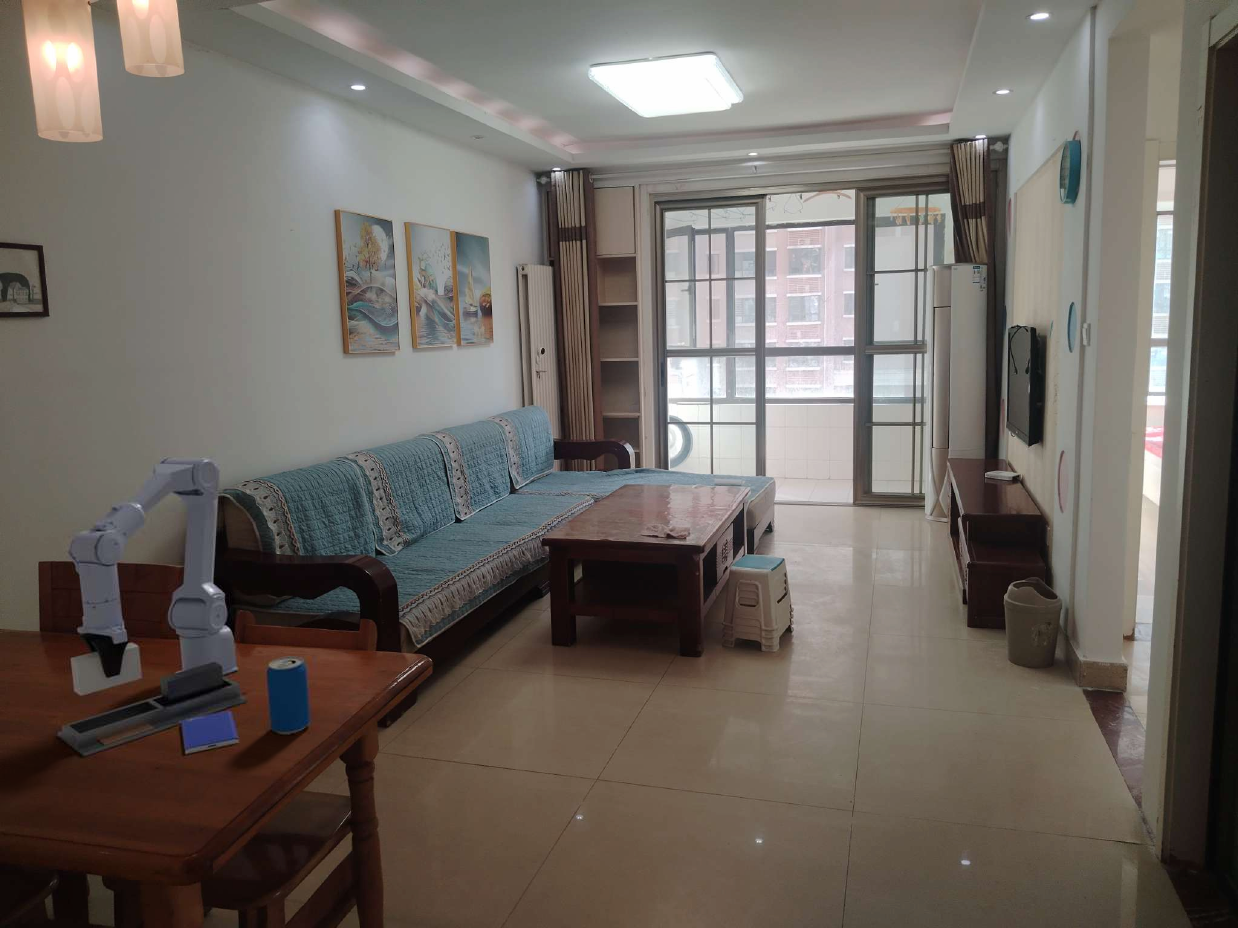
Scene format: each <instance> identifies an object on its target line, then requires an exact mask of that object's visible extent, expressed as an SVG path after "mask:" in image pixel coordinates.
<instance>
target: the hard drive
mask: <svg viewBox="0 0 1238 928" xmlns="http://www.w3.org/2000/svg"><path fill="white" fill-rule="evenodd" d="M180 725H181V731H182V738H183V746H184V751H185V752H184V753H185V755H188V754H192V753H197V752H202V751H205V750H210V749H211V750H212V749H215V748H219V747H221V748H222V747H224V746H228V745H229V746H230V745H236V744H238V743H240V740H239V736H238V732H237V727H236V724H235V720H234V717H233V713H232V711H231V710H227V711H226V710H225V711H221V712H220V711H219V712H214V713H211V714H208V715H205V716H200V717H195V718H190V719H185V720H183V721H181V724H180Z"/></svg>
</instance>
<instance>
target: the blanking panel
mask: <svg viewBox="0 0 1238 928" xmlns="http://www.w3.org/2000/svg"><path fill="white" fill-rule="evenodd" d="M70 664H71V673H72V674H71V675H72V682H73V690H74V692H75V693H76V694H78V695H79V696H84V695H88V694H92V693H95V692H98V691H103V690H106V689H109V688H112V687H116V686H119V685H123V684H127V683H131V682H135V681H137V680H140V679H142V678H143V677H142V676H143V675H142V665H141V656H140V647H139V645H137V644H136V643H134V642H128V644H127V646H126V649H125V651H124V655H123V659H122V666H121V671H120V675H117V676H113V677H110V678H107V677H106V676H105V674H104V671H103V667H102V663H101V659H100V657H99V654H98V652H93V653H90V652H89V653H86V654H83V655H78V656H75V657H71V658H70Z"/></svg>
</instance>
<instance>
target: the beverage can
mask: <svg viewBox="0 0 1238 928" xmlns="http://www.w3.org/2000/svg"><path fill="white" fill-rule="evenodd" d="M307 669H308V668H307V665H306V664H305V663H304V659H303V658H302V657H299V656H284V657H279V658H276V659H273V660H272V661H270V662H269V663H268V668H267V670H266V681H267V692H268V693H267V694H268V708H269V709H268V711H269V720H270V728H271V731H273V732H276V733H277V734H279V735H292V734H291V733H294V734H296V733H295V732H297V733H299V732H298V731H300V732H302V731H304V730H305V729H306V728H305V727H308V726H309V725H310V723H311V713H310V699H309V698H310V696H309V684H308V683H309V682H308V670H307ZM304 728H305V729H304ZM303 729H304V730H303ZM301 730H302V731H301Z"/></svg>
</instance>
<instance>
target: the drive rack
mask: <svg viewBox="0 0 1238 928" xmlns="http://www.w3.org/2000/svg"><path fill="white" fill-rule="evenodd" d="M180 671H181V672H178V671H177V672H178V673H171V674H168V675H165V676H162V677H161V676H160V677H159V683H160V691H161V693H160V694H161V695H157V696H154V697H151V698H147V699H145V700H144V699H143V700H141V701H138V702H135V703H130V704H128V705H125V706H122V707H119V708H116V709H112V710H108V711H106V712H102V713H100V714H99V713H98V714H96V715H94V716H93V715H92V716H90V717H87V718H83V719H79V720H76V721H73V722H70V723H68V724H64V725H61V729H62V730H61V731H57V737H59V738H60V739H62V741H64V742H65V743H67V745H69V746H70V747H72V748H73V749H74V750H75V751H77V752H78V753H79V754H81V755H82V756H83V757H87V756H90V755H94V754H96V753H98V752H101V751H104V750H108V749H110V748H114V747H117V746H120V745H123V744H125V743H128V742H131V741H134V740H137V739H140V738H142V737H147V736H149V735H152V734H155V733H157V732H162V731H164V730H167V729H169V728H174V727H175V726H179V725H181V721H183V720H185V719H190V718H195V717H200V716H205V715H210V714H215V713H218V712H220V711H222V710H223V711H224V710H226V709H229V708H233V707H234V706H238V705H240V704H244V703H247V702H248V701H249V700H248V699H249V698H248V697H246V696H244V695H242V694H241V686H240V683H237V682H235V681H233V680H231V679H229V678H228V677H225V676H224V675H223V673H222V665H220V664H218V663H216V662H212V663H208V664H205V665H202V666H198V667H195V668H191V669H188V670H185V671H182V670H180Z"/></svg>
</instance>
